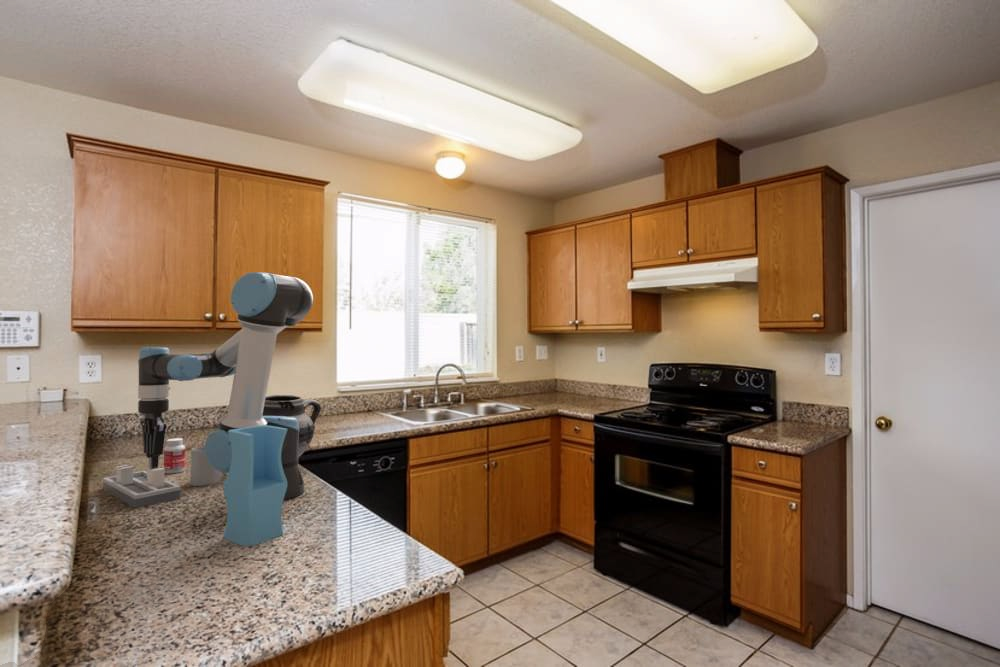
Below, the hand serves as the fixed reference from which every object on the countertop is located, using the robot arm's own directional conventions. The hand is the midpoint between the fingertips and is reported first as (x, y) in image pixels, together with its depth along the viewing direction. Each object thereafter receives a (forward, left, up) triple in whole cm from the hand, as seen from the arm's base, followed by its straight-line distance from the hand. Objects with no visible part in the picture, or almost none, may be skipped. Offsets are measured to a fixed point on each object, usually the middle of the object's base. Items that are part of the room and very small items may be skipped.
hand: (152, 478), depth 151 cm
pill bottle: (+21, -13, -5) cm, 25 cm away
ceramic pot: (+1, -40, -5) cm, 41 cm away
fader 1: (+7, +5, -2) cm, 9 cm away
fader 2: (-3, 0, -2) cm, 3 cm away
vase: (-55, -2, -5) cm, 56 cm away
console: (+2, +3, -4) cm, 5 cm away
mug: (+1, -15, -5) cm, 16 cm away
